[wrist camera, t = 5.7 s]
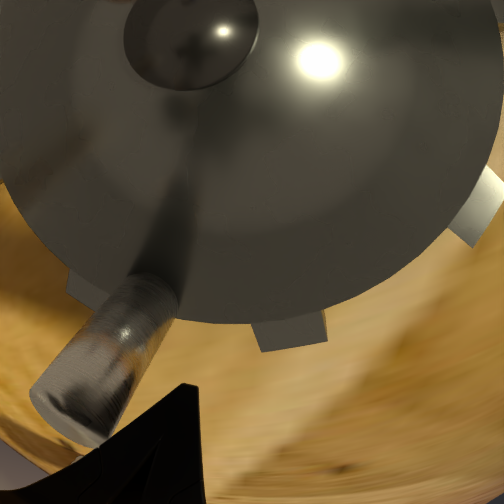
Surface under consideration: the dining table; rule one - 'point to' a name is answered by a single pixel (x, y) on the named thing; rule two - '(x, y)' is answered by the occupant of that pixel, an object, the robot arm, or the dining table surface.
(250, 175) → the sprocket
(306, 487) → the dining table surface
